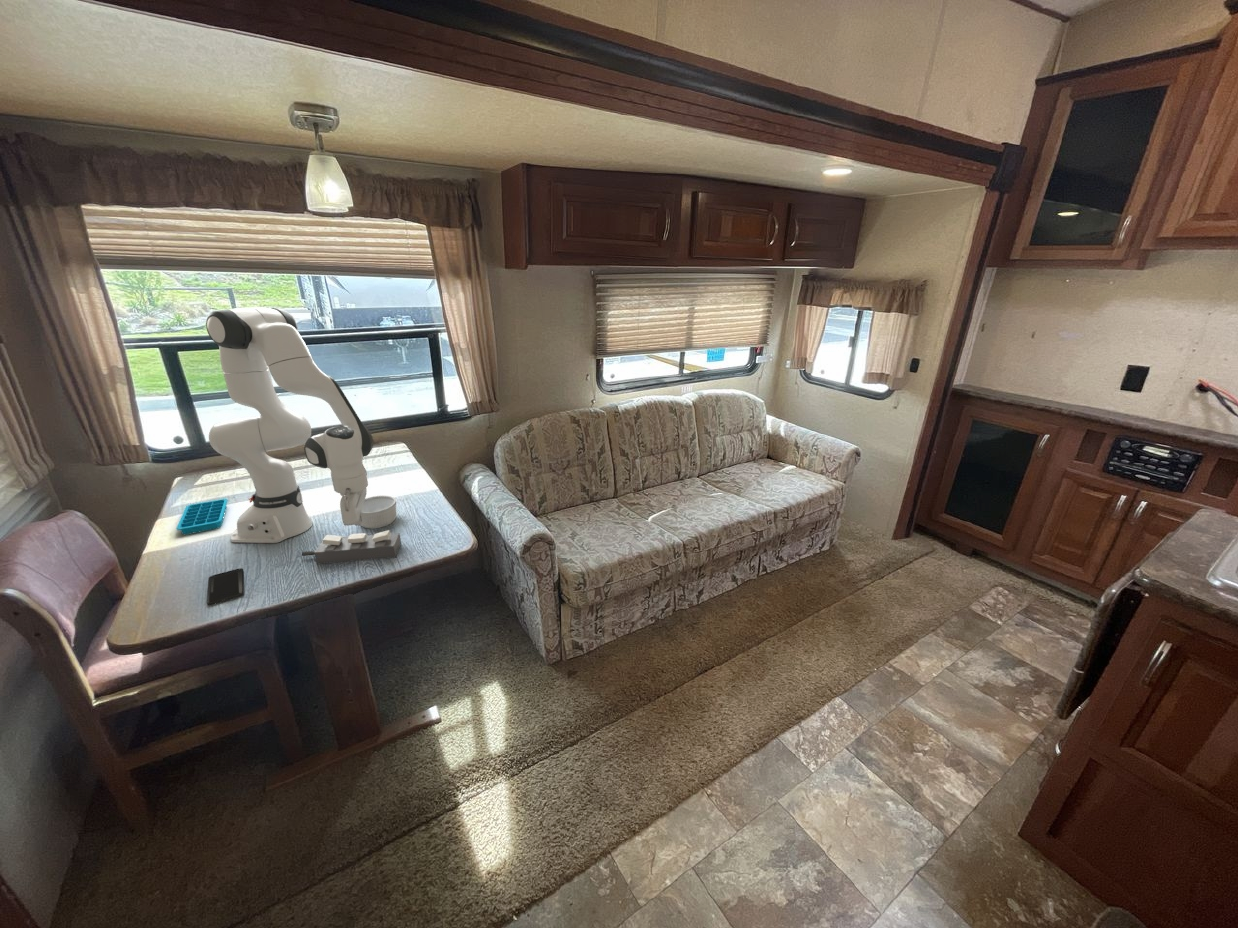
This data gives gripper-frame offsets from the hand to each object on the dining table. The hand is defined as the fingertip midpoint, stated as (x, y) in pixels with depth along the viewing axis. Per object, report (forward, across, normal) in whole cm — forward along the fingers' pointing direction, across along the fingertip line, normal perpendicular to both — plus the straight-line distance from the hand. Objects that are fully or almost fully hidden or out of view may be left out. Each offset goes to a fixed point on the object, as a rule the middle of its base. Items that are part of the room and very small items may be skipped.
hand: (358, 523), depth 146 cm
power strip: (+10, 0, +3) cm, 11 cm away
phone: (+11, -8, +33) cm, 36 cm away
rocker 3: (+5, -1, -6) cm, 8 cm away
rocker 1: (+5, +1, +8) cm, 10 cm away
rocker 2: (+5, 0, +1) cm, 5 cm away
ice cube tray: (+13, +38, +54) cm, 68 cm away
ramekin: (+11, +20, -2) cm, 23 cm away
